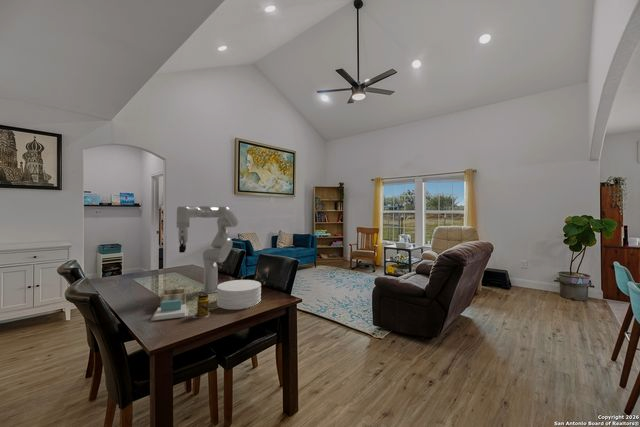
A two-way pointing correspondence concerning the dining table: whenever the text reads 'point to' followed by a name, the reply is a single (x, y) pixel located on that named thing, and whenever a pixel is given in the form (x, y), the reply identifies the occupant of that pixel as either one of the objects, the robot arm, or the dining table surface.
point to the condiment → (202, 306)
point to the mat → (171, 318)
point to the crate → (174, 295)
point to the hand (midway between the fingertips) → (182, 251)
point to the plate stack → (238, 294)
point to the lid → (170, 310)
